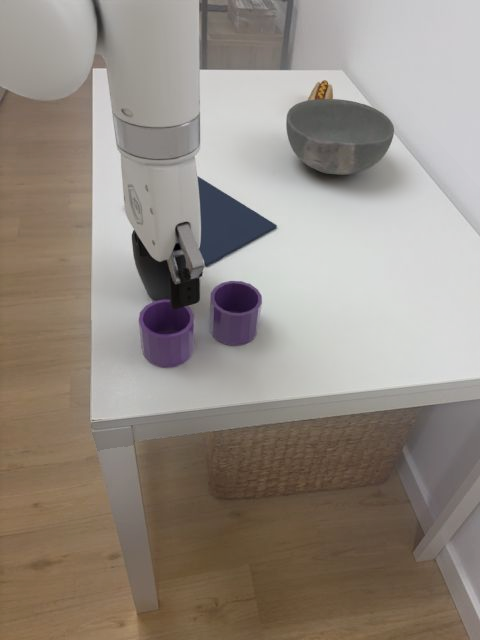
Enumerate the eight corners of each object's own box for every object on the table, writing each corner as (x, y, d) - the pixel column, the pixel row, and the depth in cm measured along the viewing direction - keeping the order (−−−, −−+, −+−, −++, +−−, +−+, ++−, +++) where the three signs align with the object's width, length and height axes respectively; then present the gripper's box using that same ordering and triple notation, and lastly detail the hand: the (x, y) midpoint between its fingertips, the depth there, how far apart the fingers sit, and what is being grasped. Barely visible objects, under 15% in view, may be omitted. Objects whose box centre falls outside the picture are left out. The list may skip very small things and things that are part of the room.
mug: (185, 253, 82) (184, 199, 75) (200, 305, 74) (200, 251, 67) (131, 258, 80) (124, 203, 73) (141, 313, 72) (135, 257, 65)
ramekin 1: (131, 346, 68) (127, 315, 64) (171, 323, 71) (170, 292, 67) (164, 376, 65) (163, 345, 61) (204, 349, 69) (205, 319, 65)
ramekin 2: (199, 326, 71) (199, 295, 67) (234, 304, 75) (236, 274, 71) (233, 353, 69) (236, 323, 65) (267, 329, 72) (272, 299, 68)
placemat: (125, 208, 88) (124, 205, 88) (196, 178, 97) (196, 175, 96) (206, 267, 80) (206, 263, 80) (276, 228, 89) (276, 225, 88)
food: (310, 97, 126) (313, 75, 123) (333, 101, 126) (337, 79, 122) (302, 121, 117) (305, 98, 113) (326, 126, 117) (330, 103, 113)
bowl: (386, 155, 110) (400, 106, 103) (375, 204, 97) (390, 153, 89) (293, 134, 112) (300, 86, 105) (269, 180, 99) (275, 128, 91)
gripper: (87, 95, 50) (111, 242, 63) (153, 186, 41) (165, 338, 53) (161, 86, 53) (170, 228, 66) (239, 168, 43) (232, 316, 56)
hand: (168, 277), depth 60 cm, fingers open, 9 cm apart
